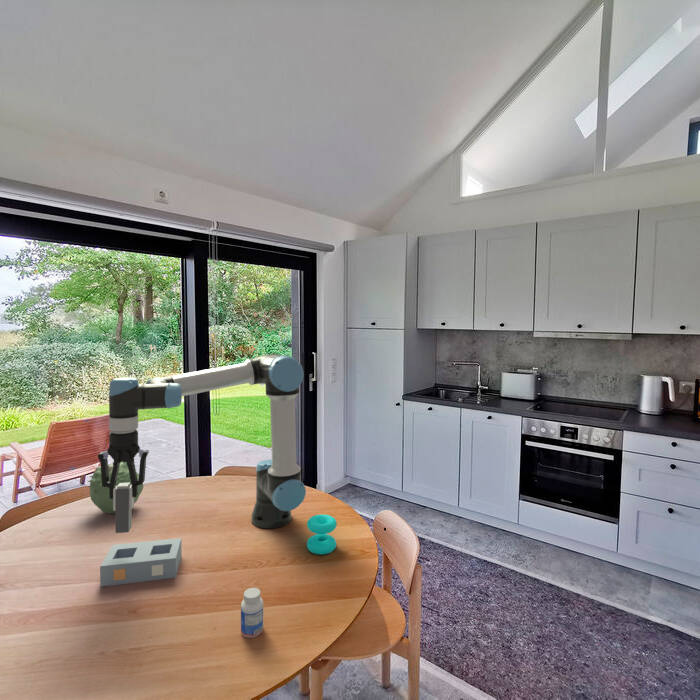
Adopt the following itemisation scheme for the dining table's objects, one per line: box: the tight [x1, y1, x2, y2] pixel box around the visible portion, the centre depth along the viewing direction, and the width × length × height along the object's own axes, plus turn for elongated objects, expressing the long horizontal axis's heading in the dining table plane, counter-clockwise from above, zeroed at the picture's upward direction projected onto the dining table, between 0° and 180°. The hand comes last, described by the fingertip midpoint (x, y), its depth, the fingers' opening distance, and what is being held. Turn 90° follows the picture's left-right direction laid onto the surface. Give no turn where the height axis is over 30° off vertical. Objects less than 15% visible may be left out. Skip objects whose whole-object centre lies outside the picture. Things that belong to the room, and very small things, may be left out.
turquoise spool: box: [306, 513, 338, 555], centre depth 142 cm, size 10×10×10 cm
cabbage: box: [87, 462, 144, 515], centre depth 166 cm, size 16×19×20 cm
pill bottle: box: [240, 587, 264, 639], centre depth 103 cm, size 6×5×10 cm
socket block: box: [99, 537, 183, 588], centre depth 127 cm, size 20×12×6 cm, turn 104°
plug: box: [115, 482, 133, 534], centre depth 125 cm, size 4×4×14 cm
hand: (123, 508), depth 125 cm, fingers closed on plug, 3 cm apart
